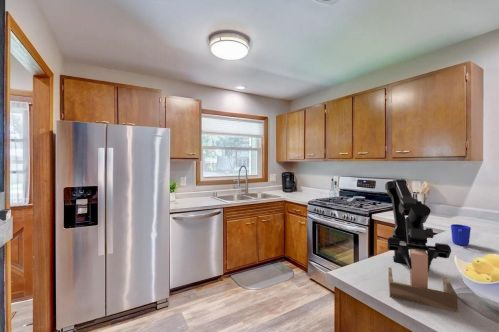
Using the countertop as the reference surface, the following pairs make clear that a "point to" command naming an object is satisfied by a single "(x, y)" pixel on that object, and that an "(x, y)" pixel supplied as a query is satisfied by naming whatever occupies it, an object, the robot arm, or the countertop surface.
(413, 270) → the block
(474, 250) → the countertop surface
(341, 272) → the countertop surface
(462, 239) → the mug
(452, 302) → the brown u-shaped piece
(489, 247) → the countertop surface
